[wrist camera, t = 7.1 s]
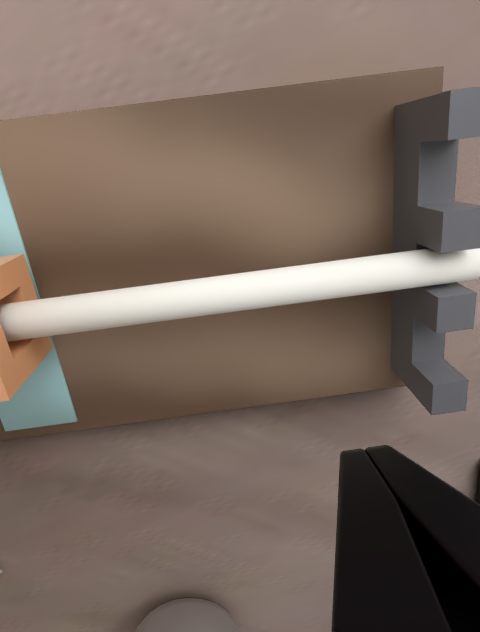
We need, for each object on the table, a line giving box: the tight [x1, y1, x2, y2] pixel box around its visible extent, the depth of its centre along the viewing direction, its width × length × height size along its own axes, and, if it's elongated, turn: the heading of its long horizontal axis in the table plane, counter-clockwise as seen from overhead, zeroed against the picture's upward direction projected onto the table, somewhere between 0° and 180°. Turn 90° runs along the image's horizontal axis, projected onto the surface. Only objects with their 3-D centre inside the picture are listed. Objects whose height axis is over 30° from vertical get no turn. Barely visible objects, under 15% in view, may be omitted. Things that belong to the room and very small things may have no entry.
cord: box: [0, 248, 480, 342], centre depth 13 cm, size 1×20×1 cm, turn 97°
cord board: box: [0, 66, 443, 441], centre depth 16 cm, size 12×23×2 cm, turn 97°
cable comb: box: [391, 87, 480, 415], centre depth 14 cm, size 10×1×4 cm, turn 7°
